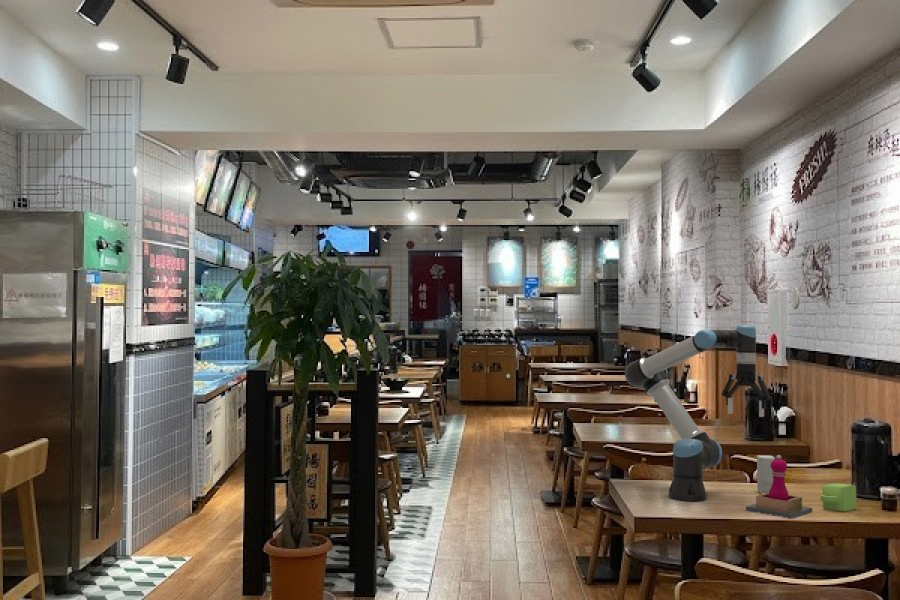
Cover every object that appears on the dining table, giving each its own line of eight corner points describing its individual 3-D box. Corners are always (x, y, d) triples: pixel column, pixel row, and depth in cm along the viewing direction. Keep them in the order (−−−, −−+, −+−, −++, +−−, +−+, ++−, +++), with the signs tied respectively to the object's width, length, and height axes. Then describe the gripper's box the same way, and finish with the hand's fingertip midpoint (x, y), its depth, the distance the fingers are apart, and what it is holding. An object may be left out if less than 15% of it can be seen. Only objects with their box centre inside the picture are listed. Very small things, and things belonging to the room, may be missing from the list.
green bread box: (837, 504, 341) (836, 480, 342) (861, 507, 334) (861, 483, 334) (815, 509, 330) (814, 485, 331) (840, 513, 322) (839, 487, 323)
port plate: (745, 510, 326) (745, 495, 326) (767, 503, 338) (767, 490, 338) (791, 518, 312) (791, 503, 313) (812, 511, 325) (812, 497, 325)
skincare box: (775, 495, 356) (776, 458, 356) (759, 494, 357) (759, 457, 357) (772, 491, 364) (772, 455, 364) (756, 490, 365) (756, 454, 365)
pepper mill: (782, 504, 329) (782, 453, 330) (792, 509, 322) (792, 456, 323) (765, 505, 328) (765, 453, 329) (774, 509, 321) (774, 456, 322)
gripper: (713, 361, 352) (713, 412, 351) (771, 364, 334) (770, 418, 333) (722, 361, 357) (722, 411, 356) (779, 364, 339) (779, 417, 338)
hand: (745, 415), depth 345 cm, fingers open, 13 cm apart
